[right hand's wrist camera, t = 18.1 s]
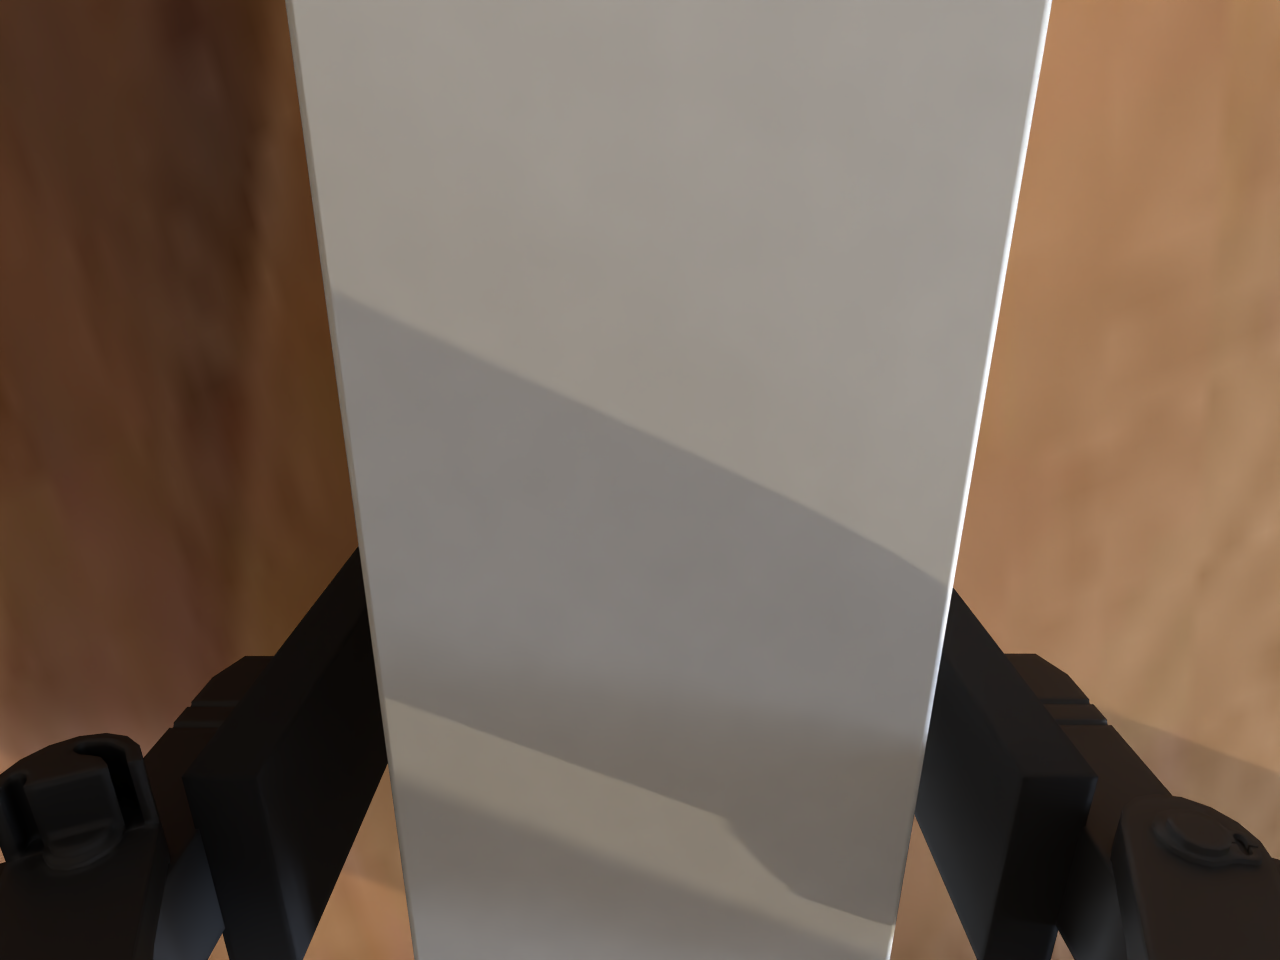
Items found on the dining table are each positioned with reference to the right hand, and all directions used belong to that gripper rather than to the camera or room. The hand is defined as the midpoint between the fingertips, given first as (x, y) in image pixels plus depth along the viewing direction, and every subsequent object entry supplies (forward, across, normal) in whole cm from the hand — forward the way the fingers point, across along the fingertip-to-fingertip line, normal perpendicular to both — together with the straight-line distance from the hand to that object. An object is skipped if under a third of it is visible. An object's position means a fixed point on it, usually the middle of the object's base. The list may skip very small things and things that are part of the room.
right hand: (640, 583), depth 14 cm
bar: (+2, 0, -21) cm, 21 cm away
